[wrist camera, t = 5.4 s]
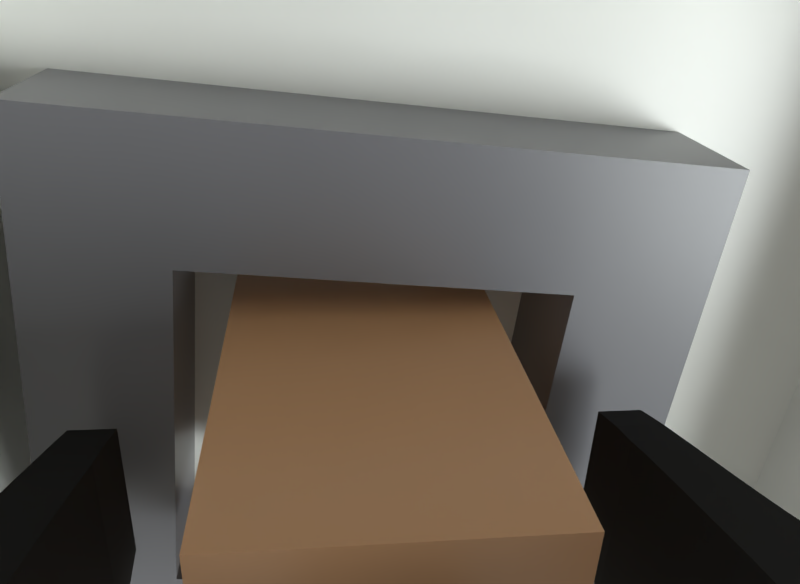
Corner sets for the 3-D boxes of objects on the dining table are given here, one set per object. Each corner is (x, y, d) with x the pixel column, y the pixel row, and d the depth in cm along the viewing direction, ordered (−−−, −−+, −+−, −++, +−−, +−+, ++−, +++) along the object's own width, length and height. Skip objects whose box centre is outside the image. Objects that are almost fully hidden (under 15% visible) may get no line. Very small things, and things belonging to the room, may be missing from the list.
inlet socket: (678, 131, 11) (750, 170, 9) (553, 569, 15) (586, 656, 13) (46, 68, 10) (-13, 98, 8) (88, 569, 13) (54, 665, 12)
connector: (467, 254, 12) (687, 698, 5) (451, 434, 13) (602, 960, 6) (241, 256, 11) (140, 744, 4) (252, 441, 13) (190, 1013, 6)
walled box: (999, -47, 11) (1278, -39, 8) (701, 646, 17) (788, 803, 14) (-97, -216, 9) (-327, -300, 5) (27, 657, 15) (-48, 848, 12)
